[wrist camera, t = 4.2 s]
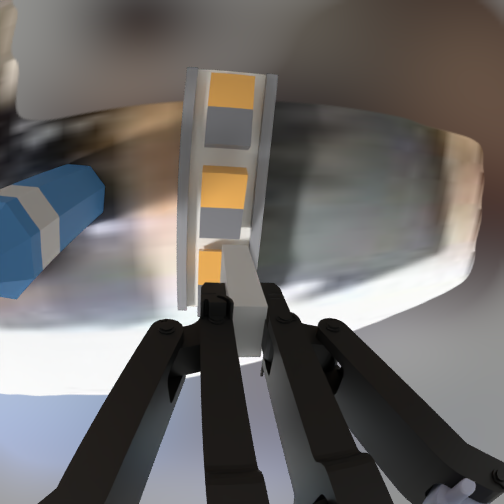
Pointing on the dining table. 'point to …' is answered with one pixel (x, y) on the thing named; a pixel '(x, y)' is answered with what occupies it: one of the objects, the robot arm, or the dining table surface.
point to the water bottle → (44, 221)
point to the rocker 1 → (208, 269)
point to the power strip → (198, 155)
